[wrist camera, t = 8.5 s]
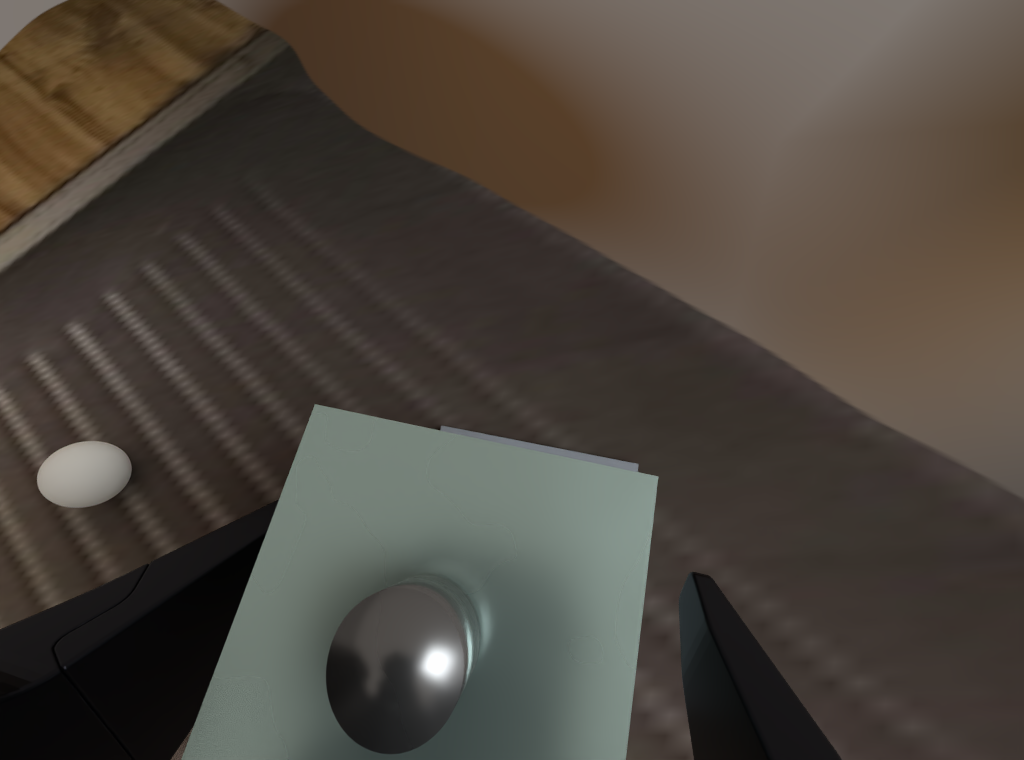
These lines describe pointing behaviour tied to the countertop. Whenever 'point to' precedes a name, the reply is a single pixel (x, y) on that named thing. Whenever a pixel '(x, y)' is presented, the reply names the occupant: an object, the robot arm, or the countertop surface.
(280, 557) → the cover
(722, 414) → the countertop surface
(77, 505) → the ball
